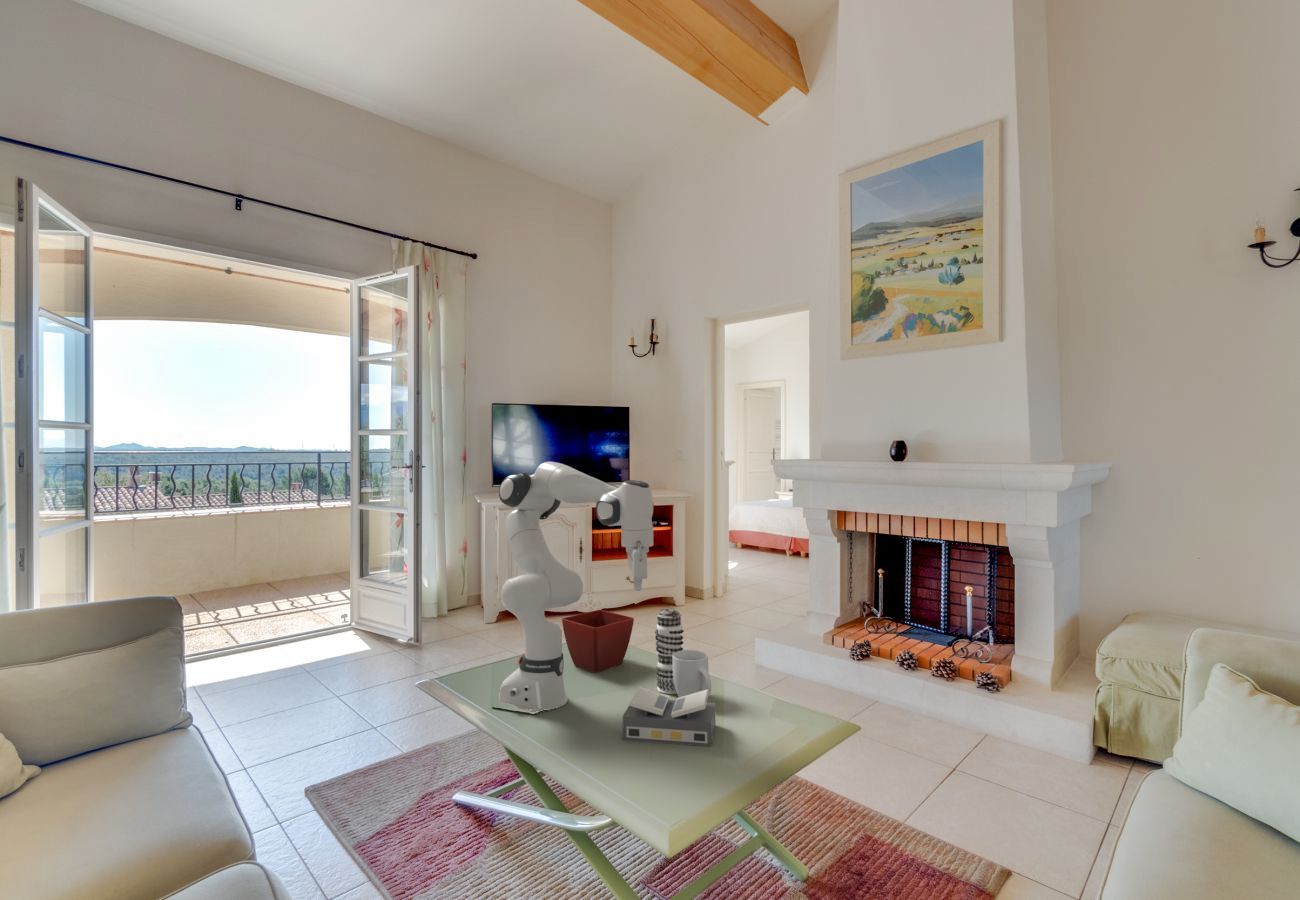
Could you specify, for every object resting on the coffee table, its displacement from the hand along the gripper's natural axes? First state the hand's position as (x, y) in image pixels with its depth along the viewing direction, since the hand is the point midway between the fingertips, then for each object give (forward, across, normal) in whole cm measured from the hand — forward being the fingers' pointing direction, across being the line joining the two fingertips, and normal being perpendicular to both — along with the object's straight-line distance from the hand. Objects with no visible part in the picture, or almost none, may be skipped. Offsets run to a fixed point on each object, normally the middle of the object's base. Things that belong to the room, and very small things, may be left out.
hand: (637, 589), depth 165 cm
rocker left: (+29, -3, -3) cm, 29 cm away
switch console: (+37, -4, -8) cm, 38 cm away
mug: (+37, +17, -18) cm, 45 cm away
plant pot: (+37, +53, +10) cm, 66 cm away
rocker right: (+29, -6, -13) cm, 33 cm away
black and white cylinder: (+37, +26, -12) cm, 47 cm away
